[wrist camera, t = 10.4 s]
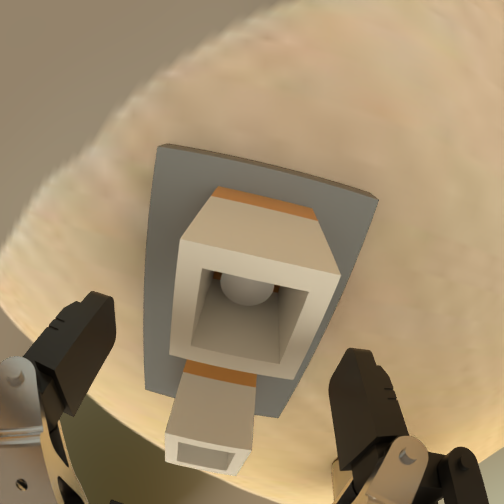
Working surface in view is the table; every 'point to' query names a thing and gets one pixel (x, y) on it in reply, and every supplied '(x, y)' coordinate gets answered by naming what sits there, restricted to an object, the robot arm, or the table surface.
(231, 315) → the sleeve
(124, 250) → the table surface
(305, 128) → the table surface
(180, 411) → the pin board
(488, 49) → the table surface
